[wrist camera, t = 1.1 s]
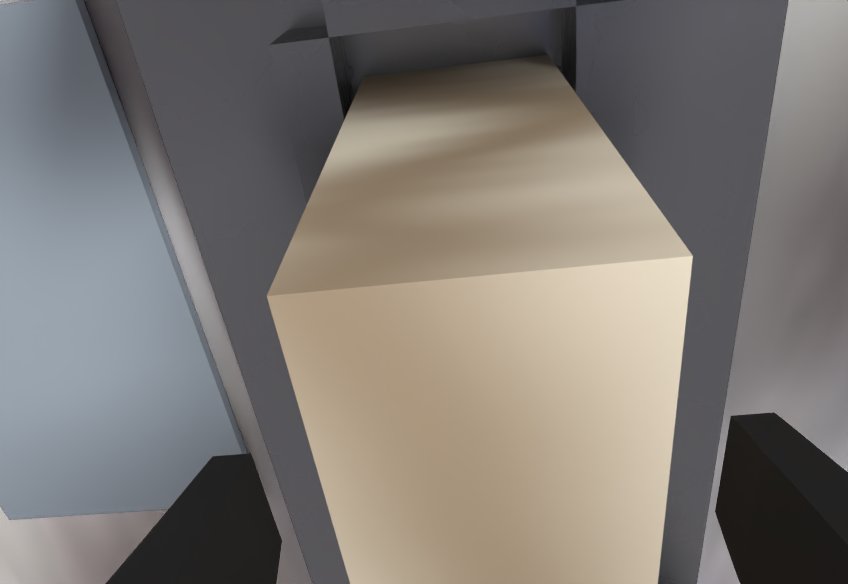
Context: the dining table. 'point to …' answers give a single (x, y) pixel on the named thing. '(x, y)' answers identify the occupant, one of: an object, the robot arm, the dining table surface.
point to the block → (485, 335)
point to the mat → (90, 293)
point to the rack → (444, 47)
